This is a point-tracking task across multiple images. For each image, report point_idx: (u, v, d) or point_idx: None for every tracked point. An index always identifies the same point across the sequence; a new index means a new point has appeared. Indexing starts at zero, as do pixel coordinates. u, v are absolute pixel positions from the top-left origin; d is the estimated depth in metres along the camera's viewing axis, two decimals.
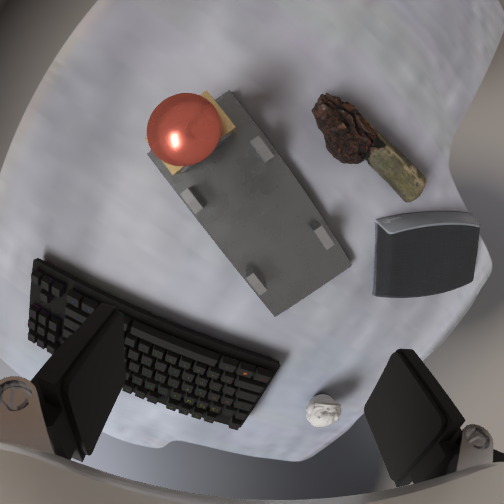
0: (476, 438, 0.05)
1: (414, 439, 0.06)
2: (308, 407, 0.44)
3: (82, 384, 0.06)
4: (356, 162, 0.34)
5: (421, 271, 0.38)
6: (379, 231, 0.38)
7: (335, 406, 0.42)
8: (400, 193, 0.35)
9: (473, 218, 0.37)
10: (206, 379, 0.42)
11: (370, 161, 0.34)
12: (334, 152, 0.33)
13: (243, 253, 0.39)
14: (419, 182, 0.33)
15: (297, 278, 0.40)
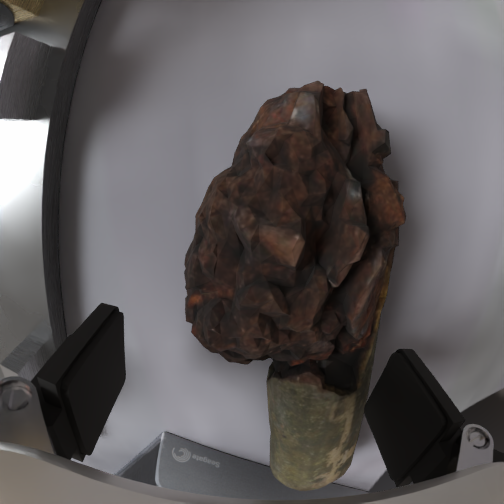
0: (476, 438, 0.05)
1: (414, 439, 0.06)
2: None
3: (82, 384, 0.06)
4: None
5: None
6: (153, 454, 0.13)
7: None
8: (272, 459, 0.12)
9: None
10: None
11: (272, 383, 0.10)
12: None
13: None
14: (327, 478, 0.11)
15: None
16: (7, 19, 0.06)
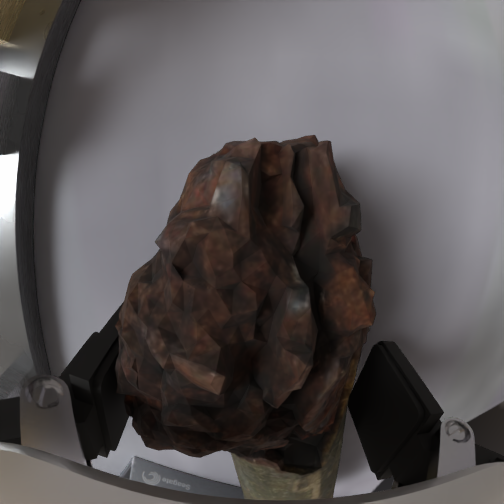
0: (455, 431, 0.05)
1: (393, 431, 0.07)
2: None
3: (112, 380, 0.06)
4: None
5: None
6: (126, 477, 0.13)
7: None
8: None
9: None
10: None
11: (233, 455, 0.09)
12: None
13: None
14: None
15: None
16: None
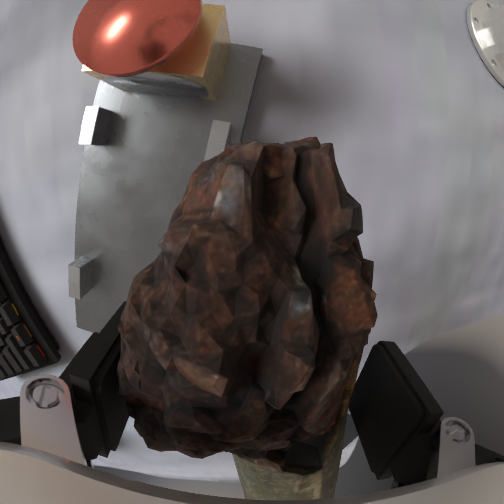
0: (455, 431, 0.05)
1: (392, 431, 0.07)
2: None
3: (112, 380, 0.06)
4: None
5: None
6: None
7: None
8: None
9: None
10: None
11: (234, 456, 0.09)
12: None
13: (93, 236, 0.23)
14: None
15: None
16: (197, 97, 0.20)
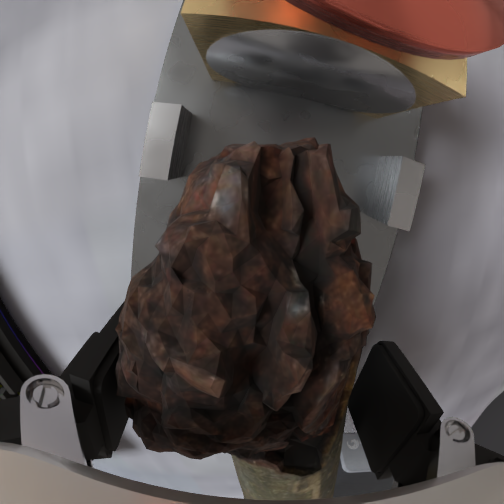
0: (455, 431, 0.05)
1: (393, 431, 0.07)
2: None
3: (112, 380, 0.06)
4: None
5: None
6: None
7: None
8: None
9: None
10: None
11: (233, 457, 0.09)
12: None
13: None
14: None
15: None
16: (359, 110, 0.12)
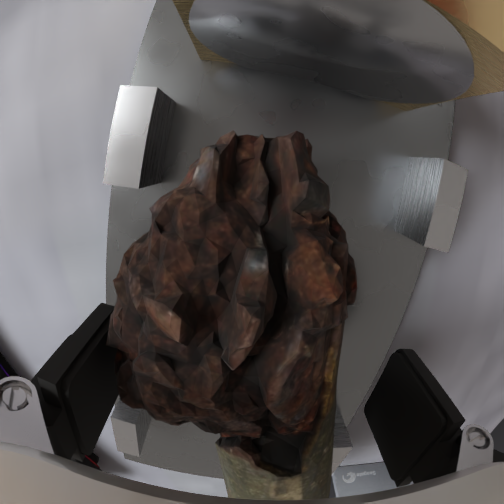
0: (476, 438, 0.05)
1: (414, 439, 0.06)
2: None
3: (82, 384, 0.06)
4: None
5: None
6: None
7: None
8: None
9: None
10: None
11: (217, 448, 0.09)
12: None
13: None
14: None
15: (211, 455, 0.15)
16: (387, 99, 0.09)
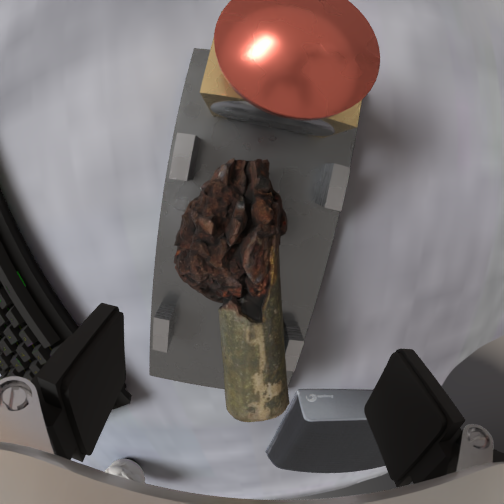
0: (476, 438, 0.05)
1: (414, 439, 0.06)
2: (113, 468, 0.27)
3: (82, 384, 0.06)
4: (203, 294, 0.20)
5: (332, 455, 0.27)
6: (296, 406, 0.27)
7: None
8: None
9: None
10: (29, 355, 0.22)
11: (219, 315, 0.19)
12: None
13: (178, 281, 0.23)
14: (259, 410, 0.19)
15: (213, 362, 0.25)
16: (307, 134, 0.19)
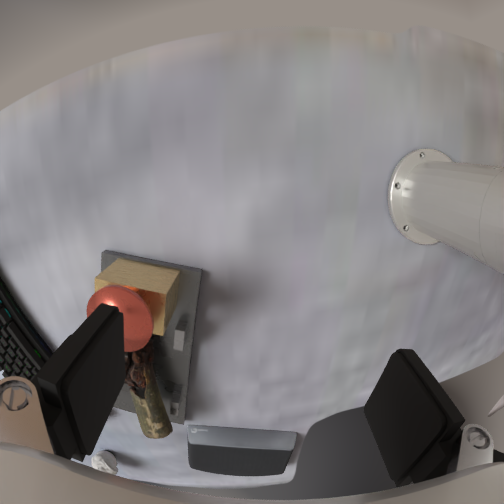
0: (476, 438, 0.05)
1: (414, 439, 0.06)
2: (96, 456, 0.44)
3: (82, 384, 0.06)
4: None
5: (220, 464, 0.43)
6: (187, 434, 0.44)
7: (113, 471, 0.43)
8: None
9: (290, 440, 0.44)
10: None
11: None
12: None
13: None
14: (153, 433, 0.35)
15: None
16: None
